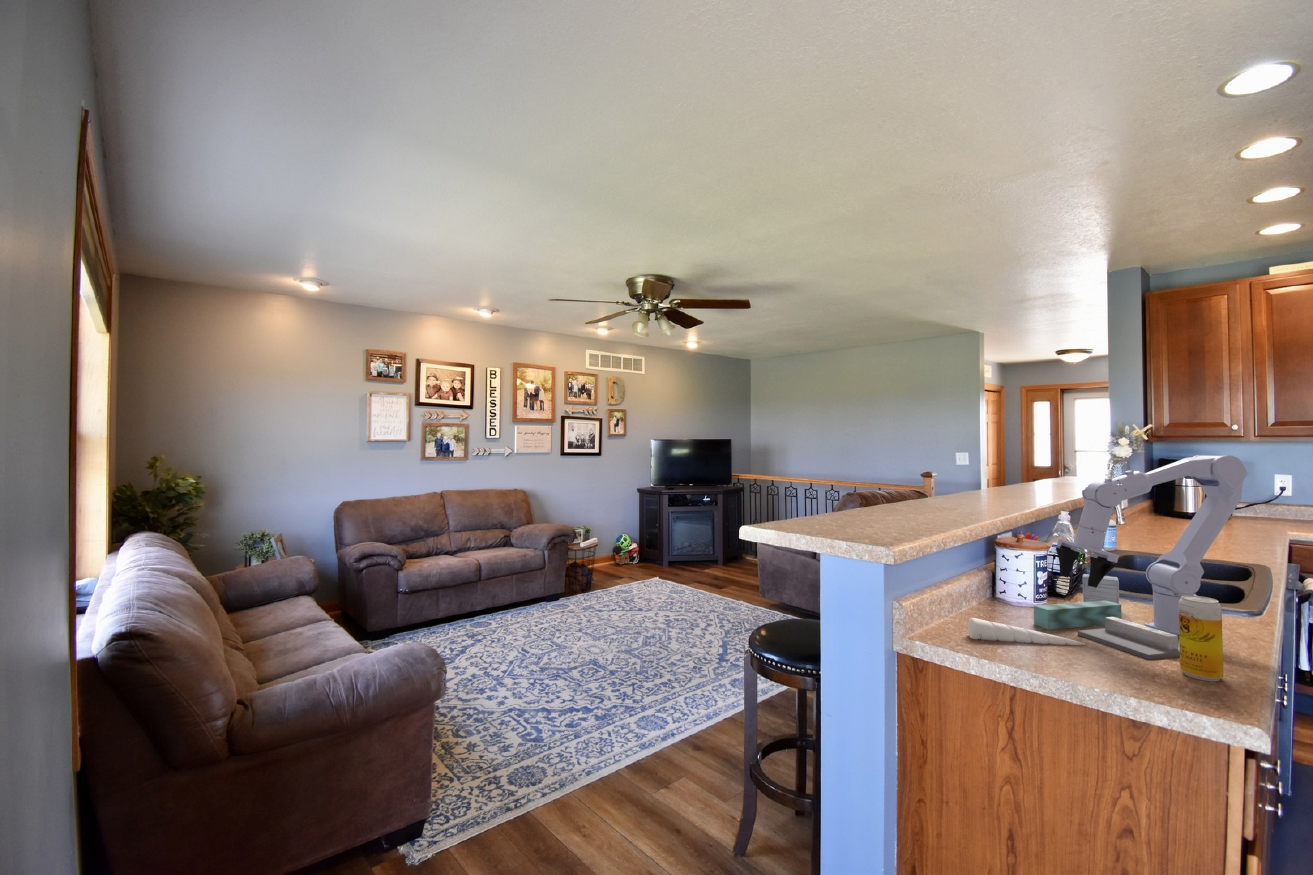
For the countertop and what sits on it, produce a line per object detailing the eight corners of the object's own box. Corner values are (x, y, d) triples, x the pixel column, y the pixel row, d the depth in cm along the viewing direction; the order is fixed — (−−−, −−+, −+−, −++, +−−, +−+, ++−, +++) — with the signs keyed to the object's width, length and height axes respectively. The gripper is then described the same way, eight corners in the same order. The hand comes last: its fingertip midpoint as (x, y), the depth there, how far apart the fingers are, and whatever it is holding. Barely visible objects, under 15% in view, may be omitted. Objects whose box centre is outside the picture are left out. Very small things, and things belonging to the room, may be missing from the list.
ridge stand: (1131, 629, 138) (1131, 613, 138) (1208, 653, 122) (1207, 634, 122) (1077, 634, 134) (1077, 618, 135) (1148, 659, 119) (1148, 640, 119)
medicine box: (1119, 608, 156) (1118, 577, 156) (1119, 612, 152) (1118, 580, 153) (1083, 603, 161) (1082, 573, 161) (1082, 607, 157) (1082, 576, 157)
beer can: (1171, 670, 113) (1169, 595, 113) (1199, 669, 114) (1197, 594, 114) (1203, 683, 107) (1201, 603, 107) (1232, 681, 107) (1230, 602, 108)
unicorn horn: (1093, 652, 124) (1092, 630, 124) (971, 641, 132) (970, 620, 132) (1084, 645, 128) (1084, 624, 129) (967, 635, 136) (966, 615, 136)
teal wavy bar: (1106, 619, 147) (1105, 600, 147) (1121, 624, 143) (1121, 604, 143) (1034, 625, 143) (1033, 605, 143) (1047, 630, 139) (1047, 610, 139)
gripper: (1053, 519, 148) (1039, 569, 148) (1108, 533, 133) (1092, 588, 134) (1075, 525, 149) (1061, 574, 150) (1131, 539, 135) (1115, 593, 135)
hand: (1077, 581), depth 142 cm, fingers open, 7 cm apart
